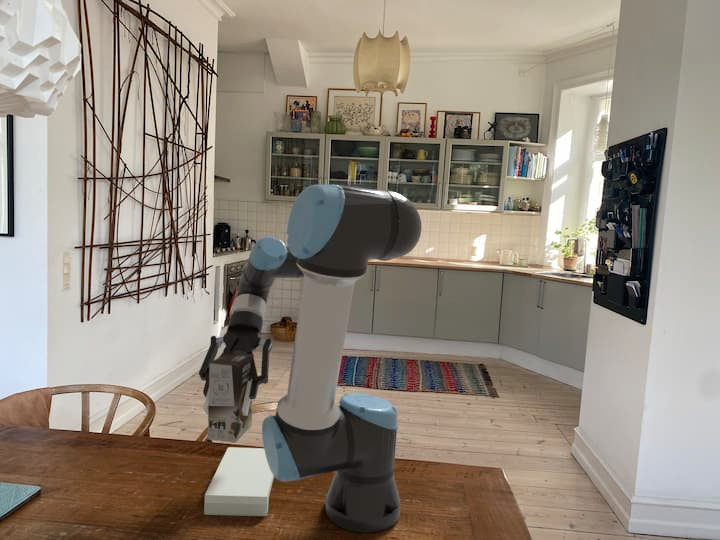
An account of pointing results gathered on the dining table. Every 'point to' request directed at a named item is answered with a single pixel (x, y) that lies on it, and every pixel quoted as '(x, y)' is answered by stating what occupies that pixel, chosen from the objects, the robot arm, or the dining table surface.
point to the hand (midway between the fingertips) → (225, 411)
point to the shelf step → (240, 484)
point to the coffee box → (229, 397)
